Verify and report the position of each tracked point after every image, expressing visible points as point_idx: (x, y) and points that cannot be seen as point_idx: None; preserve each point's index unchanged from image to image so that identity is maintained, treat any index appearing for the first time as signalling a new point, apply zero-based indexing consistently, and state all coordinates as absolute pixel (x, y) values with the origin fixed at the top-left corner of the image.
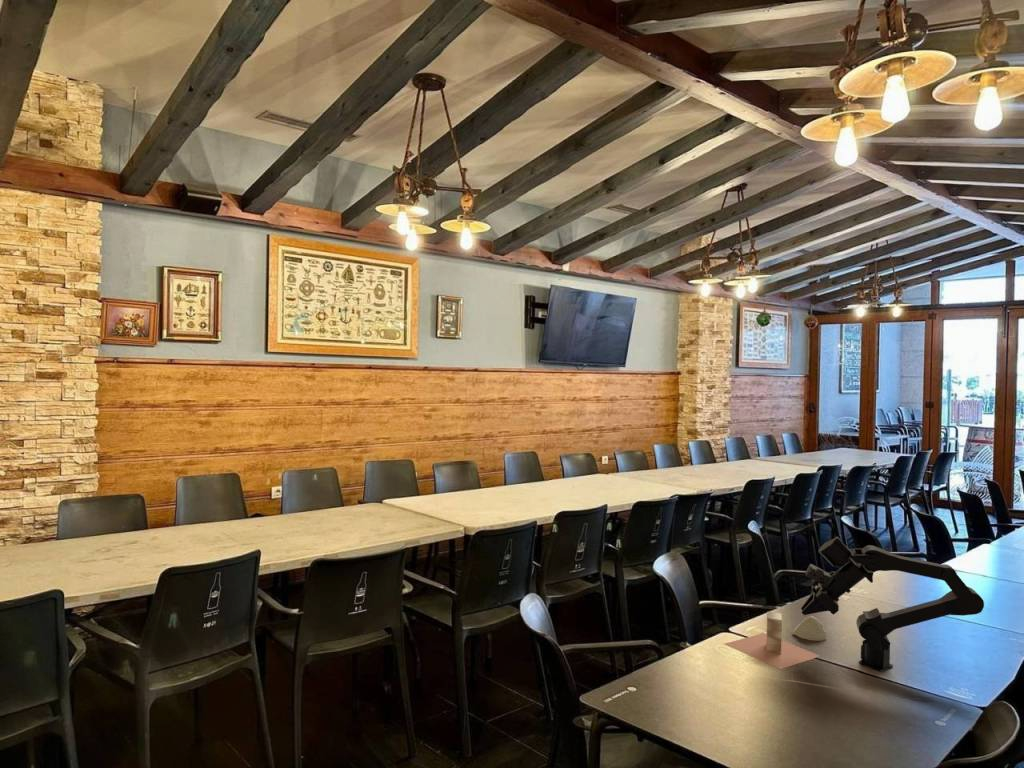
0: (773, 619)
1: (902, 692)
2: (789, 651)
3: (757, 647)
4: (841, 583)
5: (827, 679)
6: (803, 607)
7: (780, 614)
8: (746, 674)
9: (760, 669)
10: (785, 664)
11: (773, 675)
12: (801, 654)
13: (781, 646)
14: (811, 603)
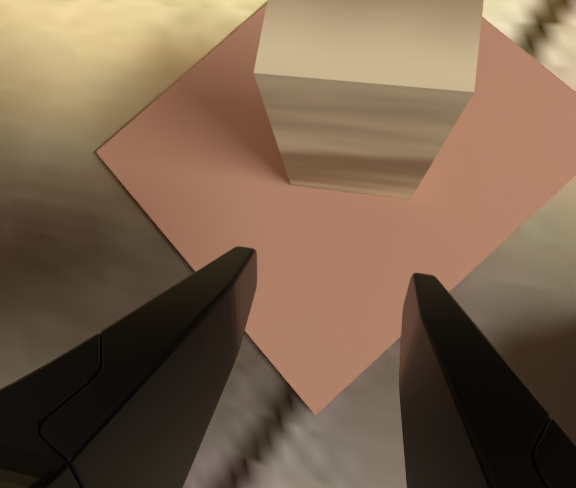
0: (267, 5)
1: None
2: (342, 238)
3: None
4: None
5: (27, 366)
6: (409, 304)
7: (426, 78)
8: (41, 10)
9: (100, 70)
10: (153, 185)
11: (43, 118)
12: (311, 299)
13: (410, 205)
14: (32, 382)
